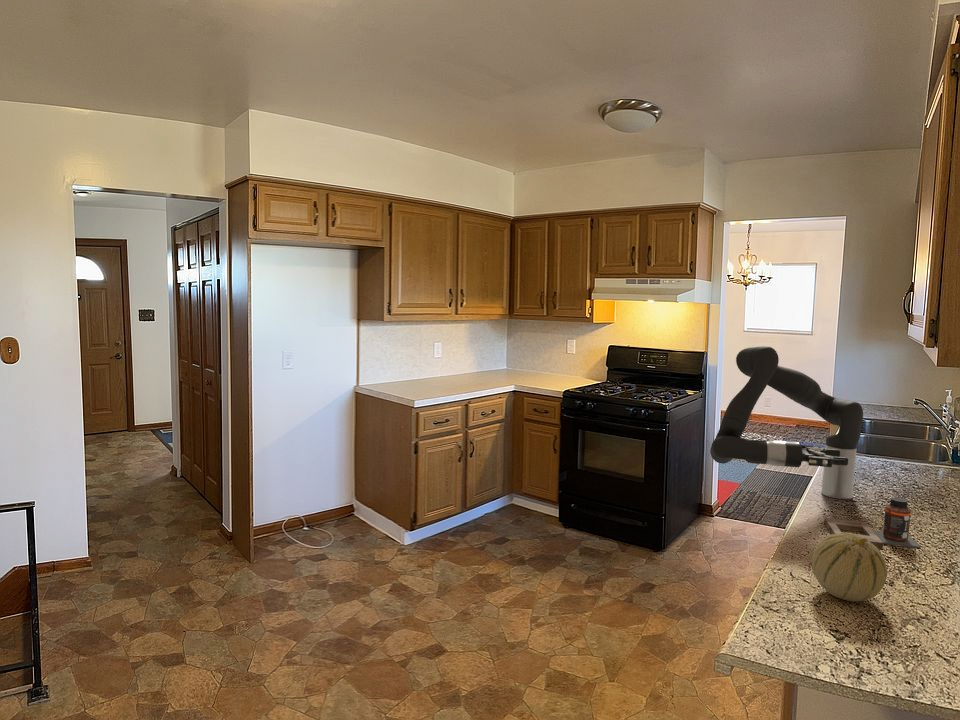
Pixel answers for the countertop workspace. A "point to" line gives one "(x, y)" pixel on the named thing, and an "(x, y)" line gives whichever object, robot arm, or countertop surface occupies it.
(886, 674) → the countertop surface
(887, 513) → the supplement bottle
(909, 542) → the rubber mat
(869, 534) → the walnut holder
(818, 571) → the cantaloupe
